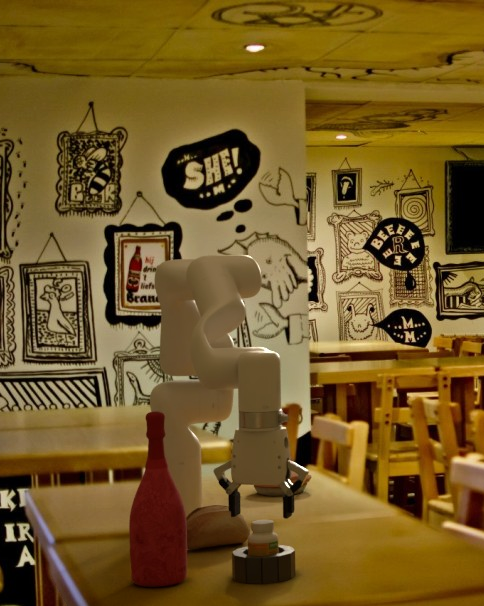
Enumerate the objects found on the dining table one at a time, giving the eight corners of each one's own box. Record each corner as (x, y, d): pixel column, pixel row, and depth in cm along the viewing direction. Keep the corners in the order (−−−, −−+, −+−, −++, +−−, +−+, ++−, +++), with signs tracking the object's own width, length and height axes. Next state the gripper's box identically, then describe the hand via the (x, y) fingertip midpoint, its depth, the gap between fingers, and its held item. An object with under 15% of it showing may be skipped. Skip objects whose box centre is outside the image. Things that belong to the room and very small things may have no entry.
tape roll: (224, 583, 216) (223, 557, 216) (245, 568, 227) (244, 544, 226) (284, 584, 214) (283, 558, 214) (302, 569, 225) (301, 545, 225)
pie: (308, 497, 300) (307, 476, 300) (244, 498, 301) (243, 477, 300) (315, 486, 316) (314, 466, 316) (254, 487, 316) (254, 467, 316)
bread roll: (168, 548, 245) (167, 508, 245) (234, 537, 255) (233, 498, 254) (192, 556, 238) (191, 514, 238) (259, 544, 247) (258, 504, 247)
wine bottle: (135, 576, 222) (131, 409, 222) (191, 574, 223) (186, 407, 222) (126, 590, 212) (121, 415, 212) (184, 587, 213) (180, 413, 213)
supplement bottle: (273, 580, 217) (271, 525, 217) (244, 579, 218) (242, 524, 218) (283, 573, 222) (281, 519, 222) (254, 572, 224) (253, 518, 223)
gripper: (313, 418, 222) (314, 513, 223) (221, 417, 225) (222, 510, 226) (300, 424, 215) (302, 522, 215) (206, 422, 218) (207, 519, 218)
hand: (261, 516), depth 221 cm, fingers open, 9 cm apart
